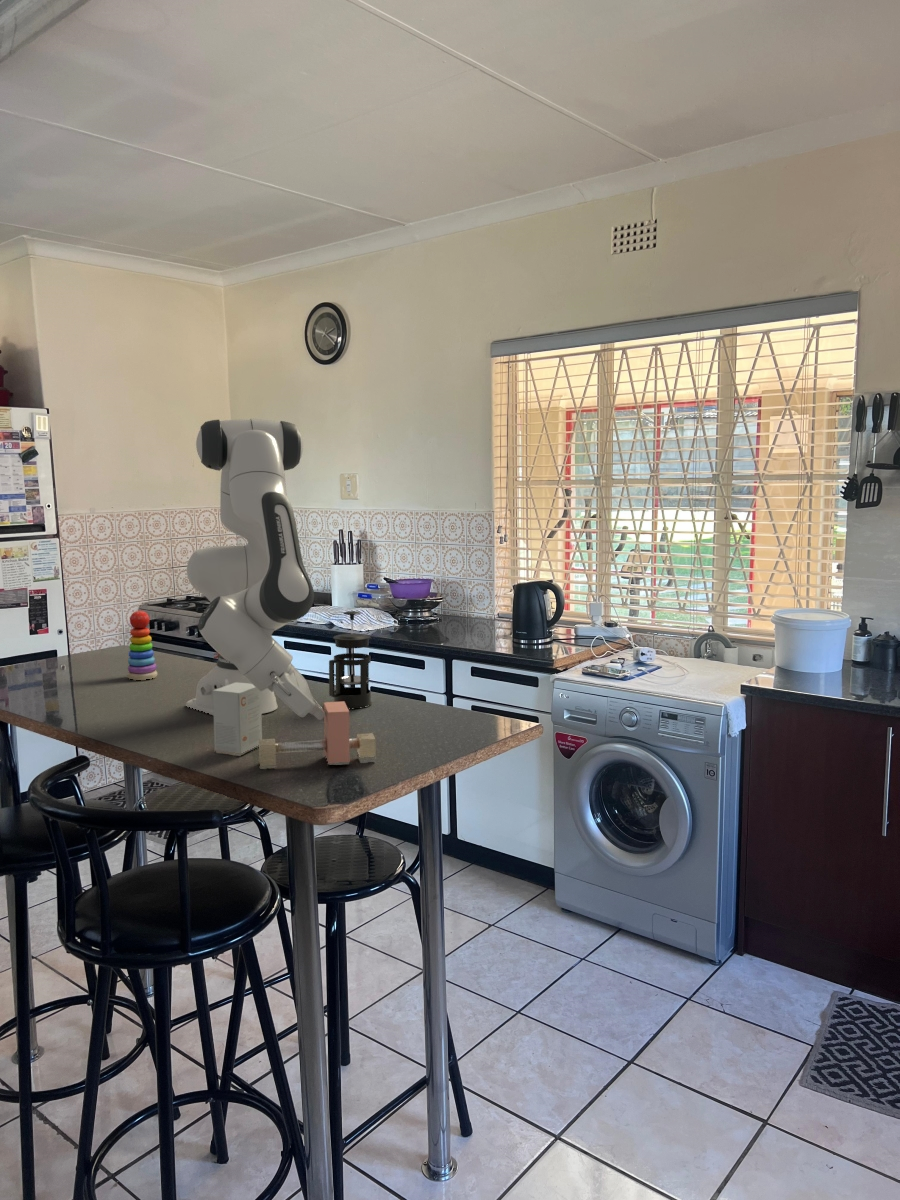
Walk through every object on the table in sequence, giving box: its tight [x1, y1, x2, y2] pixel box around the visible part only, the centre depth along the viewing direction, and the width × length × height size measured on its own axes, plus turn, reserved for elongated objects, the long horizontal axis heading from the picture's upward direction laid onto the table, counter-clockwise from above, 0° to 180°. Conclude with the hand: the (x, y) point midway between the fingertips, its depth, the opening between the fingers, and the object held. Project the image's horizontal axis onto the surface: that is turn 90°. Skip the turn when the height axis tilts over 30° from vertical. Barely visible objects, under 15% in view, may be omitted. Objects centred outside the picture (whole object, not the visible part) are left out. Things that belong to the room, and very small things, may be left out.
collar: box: [323, 701, 351, 765], centre depth 174 cm, size 4×8×10 cm, turn 13°
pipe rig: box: [258, 732, 376, 767], centre depth 174 cm, size 22×4×5 cm, turn 103°
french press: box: [328, 610, 373, 710], centre depth 219 cm, size 12×9×23 cm
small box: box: [212, 682, 263, 753], centre depth 182 cm, size 8×6×13 cm
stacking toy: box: [126, 610, 158, 681], centre depth 246 cm, size 8×8×19 cm
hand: (322, 715), depth 173 cm, fingers closed, pressing on collar
